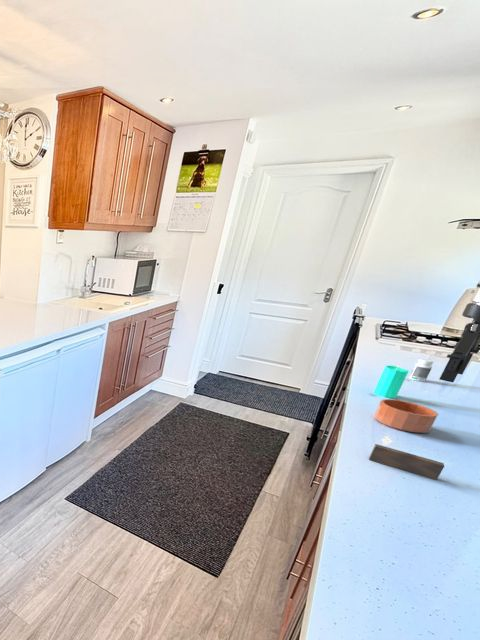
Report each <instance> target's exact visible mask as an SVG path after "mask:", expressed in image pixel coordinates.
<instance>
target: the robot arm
mask: <svg viewBox="0 0 480 640" xmlns="http://www.w3.org/2000/svg"><path fill="white" fill-rule="evenodd" d="M469 293H470V294H472V295H471V296H470V298H469V301H470V302H469V303H466V305H465V307H464V310H463V311H462V314H461V316H462V317H464V318H468V319H473V320H472V321H471V322H468V323H467V324H465V326H464V328H463V332H462V333H461V336H460V339H459V340H458V342H457V344H456V345H455V348H454V349H453V351H452V353H450V354H449V353H448V354H447V355H446V358H449V359H448V361H447V363H446V365H445V367H444V369H443V371H442V373H441V375H440V376H439V378H438V380H440V381H444V382H449V383H455V380H456V379H457V377H458V375H463V374H464V372H465V370H466V368H467V366H469V363H470V361H471V360H472V357H473V355H474V354H478V353H479V351H480V350H479V349H478V346H479V344H480V280H478V282H477V284H476V287H475V289H471V290H469Z"/></svg>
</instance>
